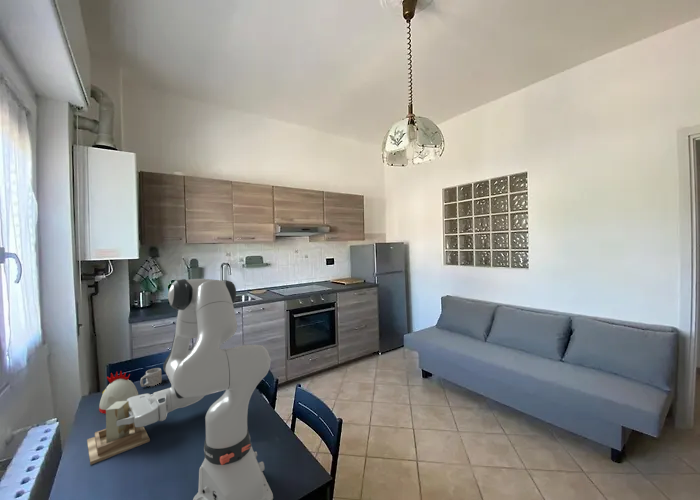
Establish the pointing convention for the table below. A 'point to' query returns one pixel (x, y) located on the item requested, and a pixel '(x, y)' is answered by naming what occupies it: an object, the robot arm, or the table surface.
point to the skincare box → (112, 414)
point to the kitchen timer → (117, 391)
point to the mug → (152, 377)
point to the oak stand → (115, 443)
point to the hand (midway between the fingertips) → (114, 417)
